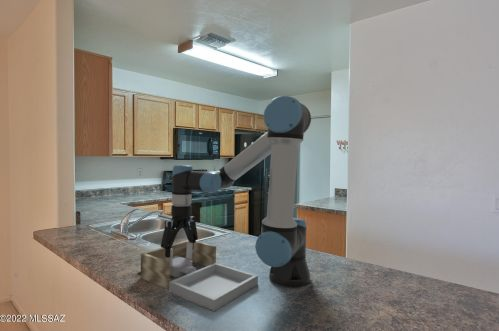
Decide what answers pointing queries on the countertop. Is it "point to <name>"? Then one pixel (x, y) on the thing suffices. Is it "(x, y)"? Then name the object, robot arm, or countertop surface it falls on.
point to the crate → (159, 268)
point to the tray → (213, 285)
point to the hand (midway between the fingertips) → (179, 261)
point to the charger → (181, 266)
